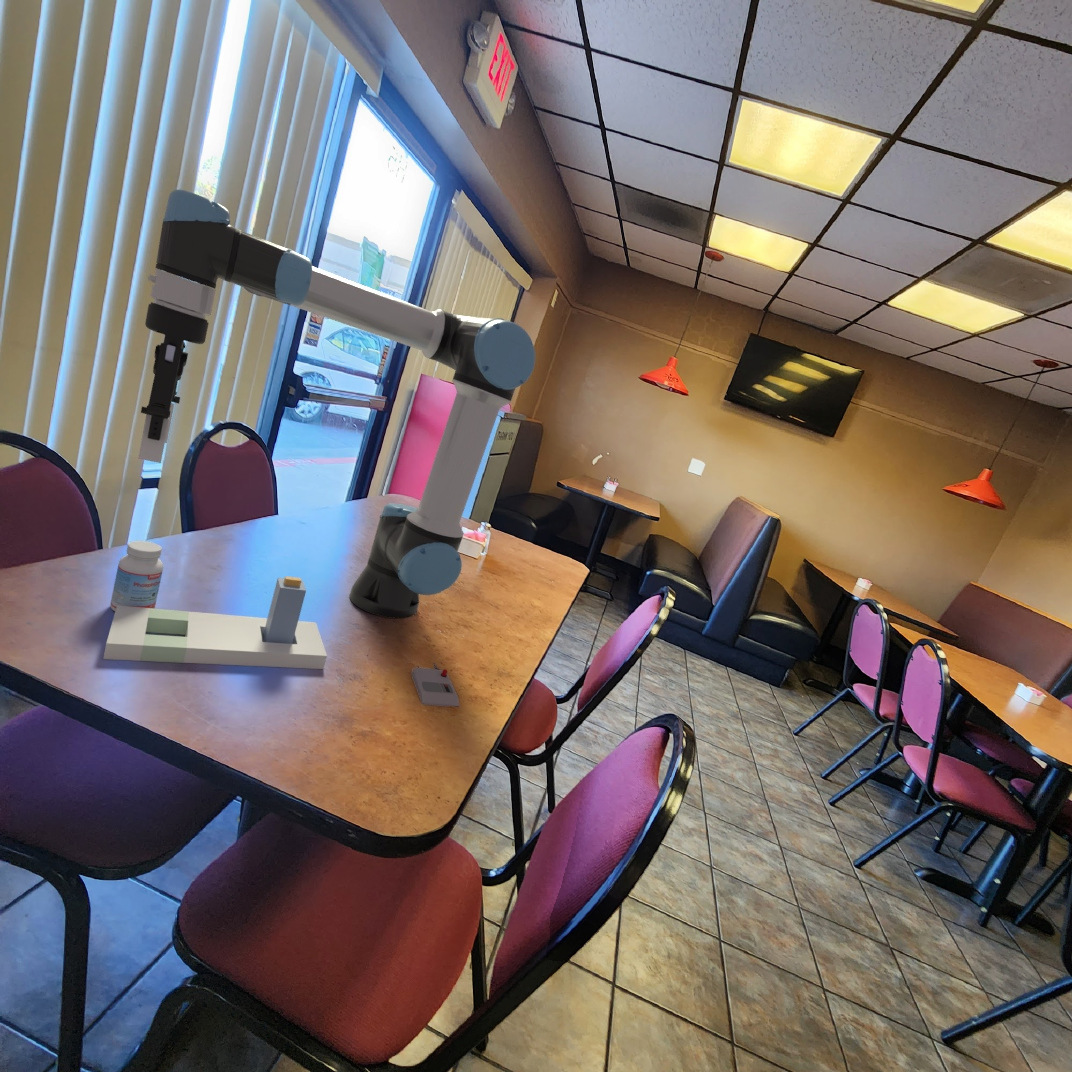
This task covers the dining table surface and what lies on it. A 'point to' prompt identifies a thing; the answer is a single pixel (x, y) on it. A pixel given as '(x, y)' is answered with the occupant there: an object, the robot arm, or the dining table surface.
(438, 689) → the remote control
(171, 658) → the panel
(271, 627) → the plug
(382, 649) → the dining table surface
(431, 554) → the robot arm
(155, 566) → the pill bottle
